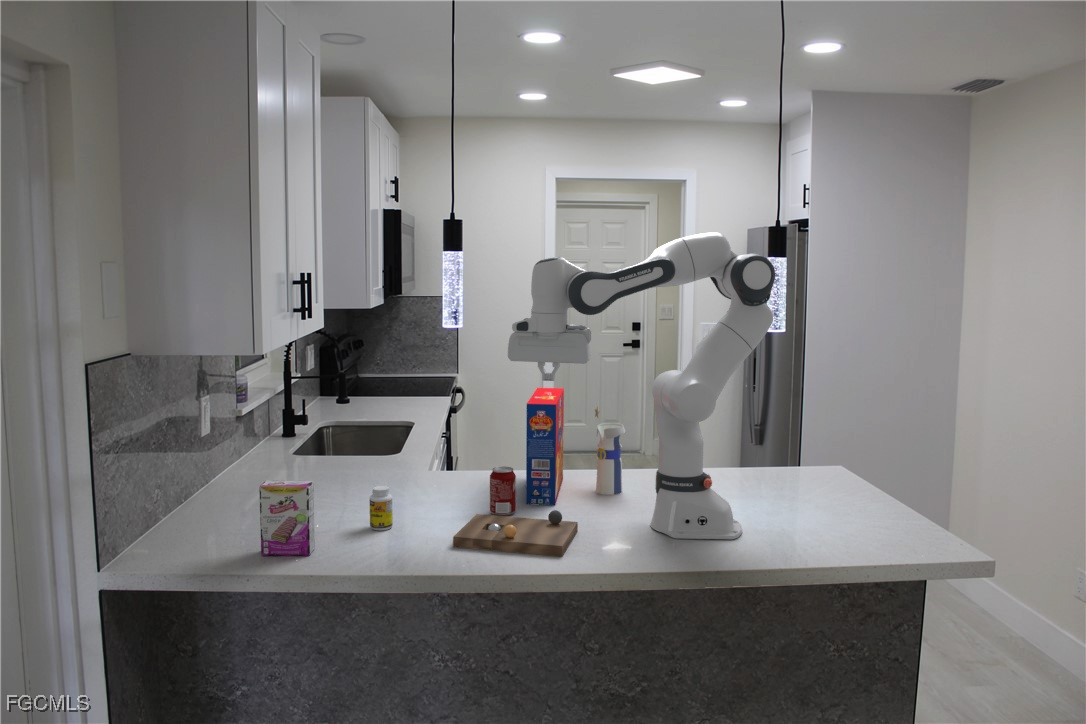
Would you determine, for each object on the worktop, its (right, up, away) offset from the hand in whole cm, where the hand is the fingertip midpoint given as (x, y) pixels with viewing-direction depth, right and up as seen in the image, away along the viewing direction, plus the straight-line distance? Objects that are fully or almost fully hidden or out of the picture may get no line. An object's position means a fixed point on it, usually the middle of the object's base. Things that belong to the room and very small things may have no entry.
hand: (548, 380), depth 210 cm
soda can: (-12, -36, +16) cm, 41 cm away
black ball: (+2, -33, -1) cm, 33 cm away
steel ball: (-13, -36, -4) cm, 39 cm away
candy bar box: (-59, -39, -15) cm, 73 cm away
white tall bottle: (+18, -33, +37) cm, 53 cm away
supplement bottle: (-42, -37, +3) cm, 56 cm away
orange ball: (-9, -35, -11) cm, 38 cm away
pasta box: (-1, -33, +37) cm, 50 cm away
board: (-8, -38, -5) cm, 39 cm away
